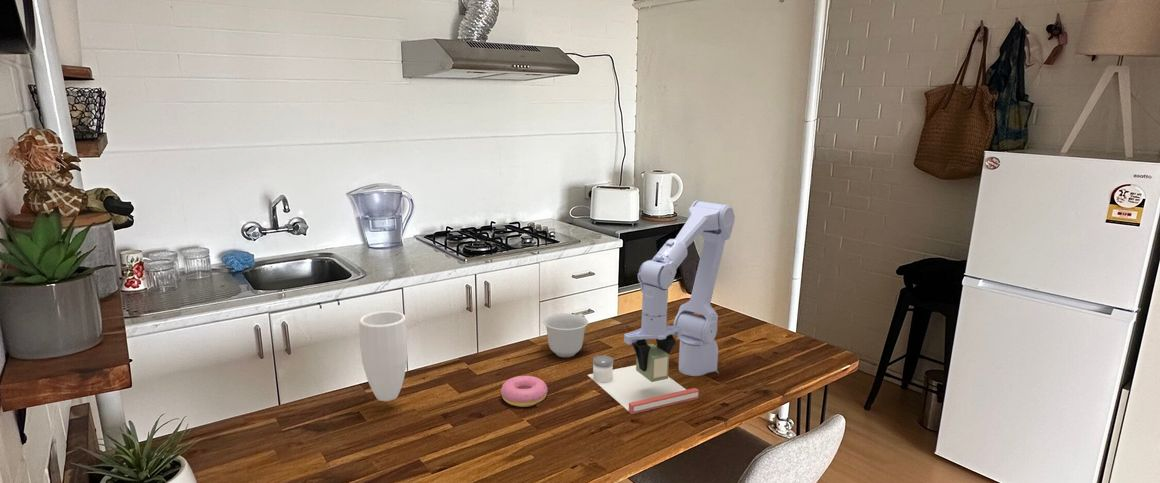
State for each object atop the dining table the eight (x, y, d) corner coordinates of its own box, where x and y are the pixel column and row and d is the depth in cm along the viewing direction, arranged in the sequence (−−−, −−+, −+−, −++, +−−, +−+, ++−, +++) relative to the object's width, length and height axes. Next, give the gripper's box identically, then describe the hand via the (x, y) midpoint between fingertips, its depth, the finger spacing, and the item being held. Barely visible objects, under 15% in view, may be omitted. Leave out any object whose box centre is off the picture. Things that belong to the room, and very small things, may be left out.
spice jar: (606, 372, 163) (607, 354, 162) (616, 380, 159) (617, 361, 158) (589, 376, 161) (589, 357, 160) (598, 384, 157) (598, 365, 155)
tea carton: (636, 370, 153) (636, 346, 152) (651, 367, 155) (652, 343, 154) (651, 382, 147) (652, 357, 146) (668, 378, 149) (669, 354, 147)
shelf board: (648, 365, 170) (648, 355, 169) (698, 401, 150) (699, 390, 150) (587, 377, 162) (587, 367, 161) (632, 417, 143) (632, 406, 142)
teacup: (601, 349, 179) (602, 315, 177) (571, 368, 167) (572, 332, 165) (565, 340, 186) (565, 307, 183) (534, 358, 173) (534, 322, 171)
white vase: (420, 401, 148) (416, 313, 143) (394, 423, 139) (388, 329, 134) (382, 394, 152) (377, 307, 147) (353, 415, 142) (346, 322, 137)
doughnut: (516, 384, 158) (516, 368, 157) (556, 394, 154) (556, 377, 153) (491, 403, 149) (491, 386, 148) (532, 414, 144) (532, 396, 143)
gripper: (636, 322, 141) (633, 380, 144) (690, 313, 147) (687, 368, 150) (620, 312, 147) (618, 368, 150) (673, 304, 153) (670, 357, 156)
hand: (651, 367), depth 151 cm, fingers closed on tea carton, 4 cm apart
